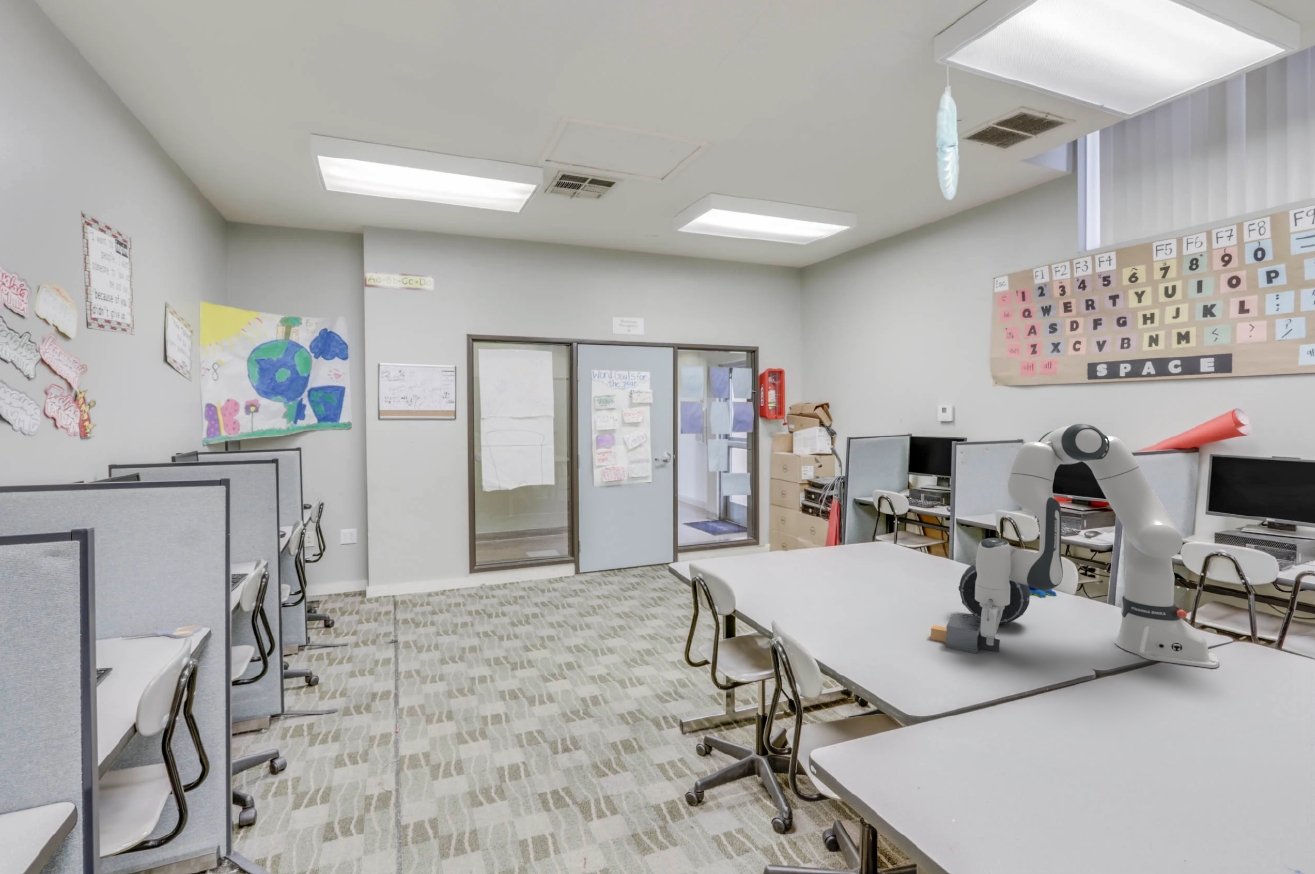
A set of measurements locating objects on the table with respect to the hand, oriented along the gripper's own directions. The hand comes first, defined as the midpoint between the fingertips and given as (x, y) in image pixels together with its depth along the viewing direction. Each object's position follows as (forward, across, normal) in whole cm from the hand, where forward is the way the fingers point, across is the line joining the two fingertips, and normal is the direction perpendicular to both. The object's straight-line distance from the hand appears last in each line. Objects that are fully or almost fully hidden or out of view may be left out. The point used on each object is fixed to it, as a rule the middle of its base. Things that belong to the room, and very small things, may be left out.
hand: (990, 642), depth 174 cm
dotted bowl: (+2, +26, +2) cm, 26 cm away
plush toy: (+2, +72, -6) cm, 73 cm away
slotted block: (+2, 0, +7) cm, 7 cm away
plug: (+2, 0, +7) cm, 7 cm away
